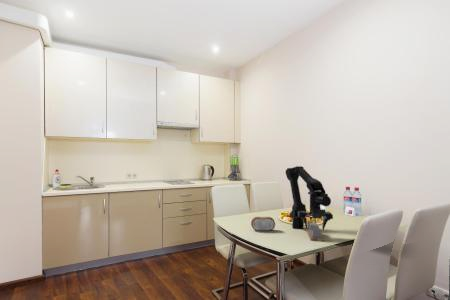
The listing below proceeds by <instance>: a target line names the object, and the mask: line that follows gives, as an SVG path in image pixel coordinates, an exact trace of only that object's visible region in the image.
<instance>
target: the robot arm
mask: <svg viewBox="0 0 450 300" xmlns="http://www.w3.org/2000/svg"><path fill="white" fill-rule="evenodd" d="M285 175H286V178H287V180H288V181H289V184H290V188H291V190H290V191H291V196H292V200H293V204H292V206H291V211H290V213H289V218H290V219H292V222H291V223H292V224H291V227H292V229H299V230H303V229H304V226H305V230H306V229H307V228H308V220H307V217H312V219H319V220H321V219H322V226H321V227H322V231H324V229H325V227H326V225H327V222H328V221H331V220H333V219H334V216H333V214H332V213H331V212H330V211H326V210H325V209H321V206H324V207H329V206H330V205H331V203H332V199H331V197H330V196H329V194H328V193H326V190H325V188H324V186H323V184H322V182H321V181H320V180H318V179H317V178H314V177H312V175H311V174H310V173H308V172H307V170H306V169H305V168H304V167H303V166H301V165H300V166H298V165H297V166H294V167H288V168H286V170H285ZM299 178H301V179H302V181H304V182H305V184H306V188H307V189H308V190H309V191H308V192H307V195H309V212H307V208H306V207H307V206H306V204H304V203H303V202H302V197H301V192H300V186H299Z"/></svg>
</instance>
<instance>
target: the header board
mask: <svg viewBox="0 0 450 300" xmlns="http://www.w3.org/2000/svg"><path fill="white" fill-rule="evenodd" d="M310 223H317V221H316V220H315V221H313V220H311V221H310V220H307V229H306V228H305V232H306V233H307V236H308V237H309V240H310V241H312V242H313V241H314V242H324V241H325V240H324V237H323V236H322V233H320V238H313V237H312V235H311V233H310Z"/></svg>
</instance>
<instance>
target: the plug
mask: <svg viewBox="0 0 450 300" xmlns="http://www.w3.org/2000/svg"><path fill="white" fill-rule="evenodd" d="M309 228H310V233H311V235H312V237H313V238H320V234H321V228H320V226H319V224H318V223H317V222H316V223H314V222H313V223H311V222H309Z"/></svg>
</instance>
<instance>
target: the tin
mask: <svg viewBox="0 0 450 300" xmlns="http://www.w3.org/2000/svg"><path fill="white" fill-rule="evenodd" d="M250 225H251V227H252V229H253V230H254V231H257V232H258V231H259V232H260V231H261V232H262V231H263V232H264V231H265V232H269V231H272V230H274V229H275V227H276V222H275V220H274V218H273V217H271V216H255V217H253V218H252V219H251V222H250Z"/></svg>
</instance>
